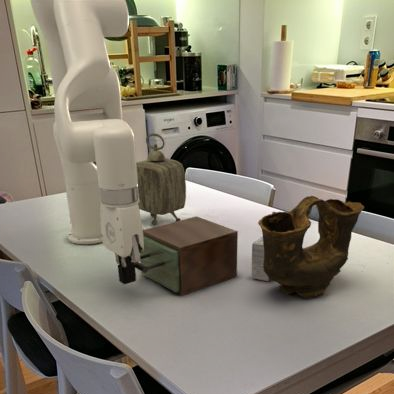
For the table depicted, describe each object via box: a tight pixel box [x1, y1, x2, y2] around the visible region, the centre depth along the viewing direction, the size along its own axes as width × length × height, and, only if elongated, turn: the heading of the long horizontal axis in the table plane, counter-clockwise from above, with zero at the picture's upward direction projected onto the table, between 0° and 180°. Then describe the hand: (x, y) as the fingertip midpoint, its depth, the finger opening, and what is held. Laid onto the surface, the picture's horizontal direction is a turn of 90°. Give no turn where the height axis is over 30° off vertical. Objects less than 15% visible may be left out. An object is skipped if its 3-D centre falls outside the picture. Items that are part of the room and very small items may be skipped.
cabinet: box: [143, 215, 239, 297], centre depth 116 cm, size 16×15×11 cm
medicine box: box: [250, 236, 271, 282], centre depth 116 cm, size 8×4×9 cm, turn 148°
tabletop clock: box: [136, 132, 187, 226], centre depth 147 cm, size 14×9×25 cm, turn 50°
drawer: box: [135, 236, 180, 293], centre depth 113 cm, size 20×14×9 cm
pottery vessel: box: [257, 195, 365, 299], centre depth 106 cm, size 25×11×20 cm, turn 123°
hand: (127, 281), depth 109 cm, fingers closed
